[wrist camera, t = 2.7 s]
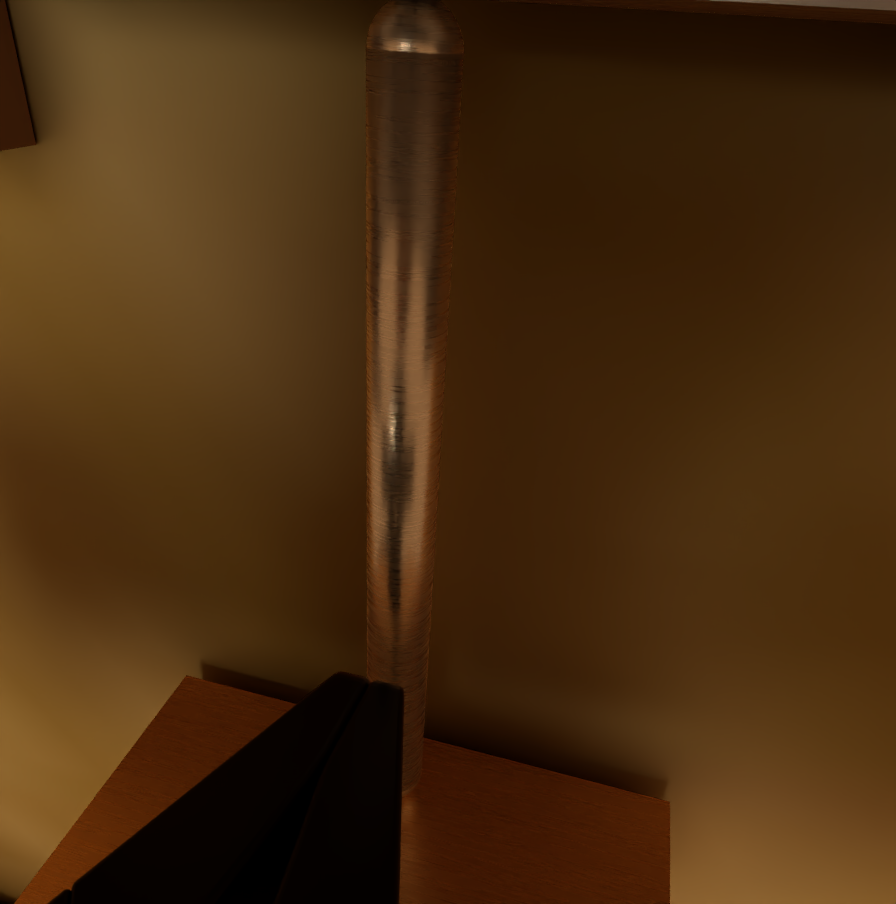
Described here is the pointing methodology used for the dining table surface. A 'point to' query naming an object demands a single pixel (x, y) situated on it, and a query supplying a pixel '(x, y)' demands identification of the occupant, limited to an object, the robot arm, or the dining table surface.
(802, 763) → the dining table surface
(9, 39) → the dark brown square tray
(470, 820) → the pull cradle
